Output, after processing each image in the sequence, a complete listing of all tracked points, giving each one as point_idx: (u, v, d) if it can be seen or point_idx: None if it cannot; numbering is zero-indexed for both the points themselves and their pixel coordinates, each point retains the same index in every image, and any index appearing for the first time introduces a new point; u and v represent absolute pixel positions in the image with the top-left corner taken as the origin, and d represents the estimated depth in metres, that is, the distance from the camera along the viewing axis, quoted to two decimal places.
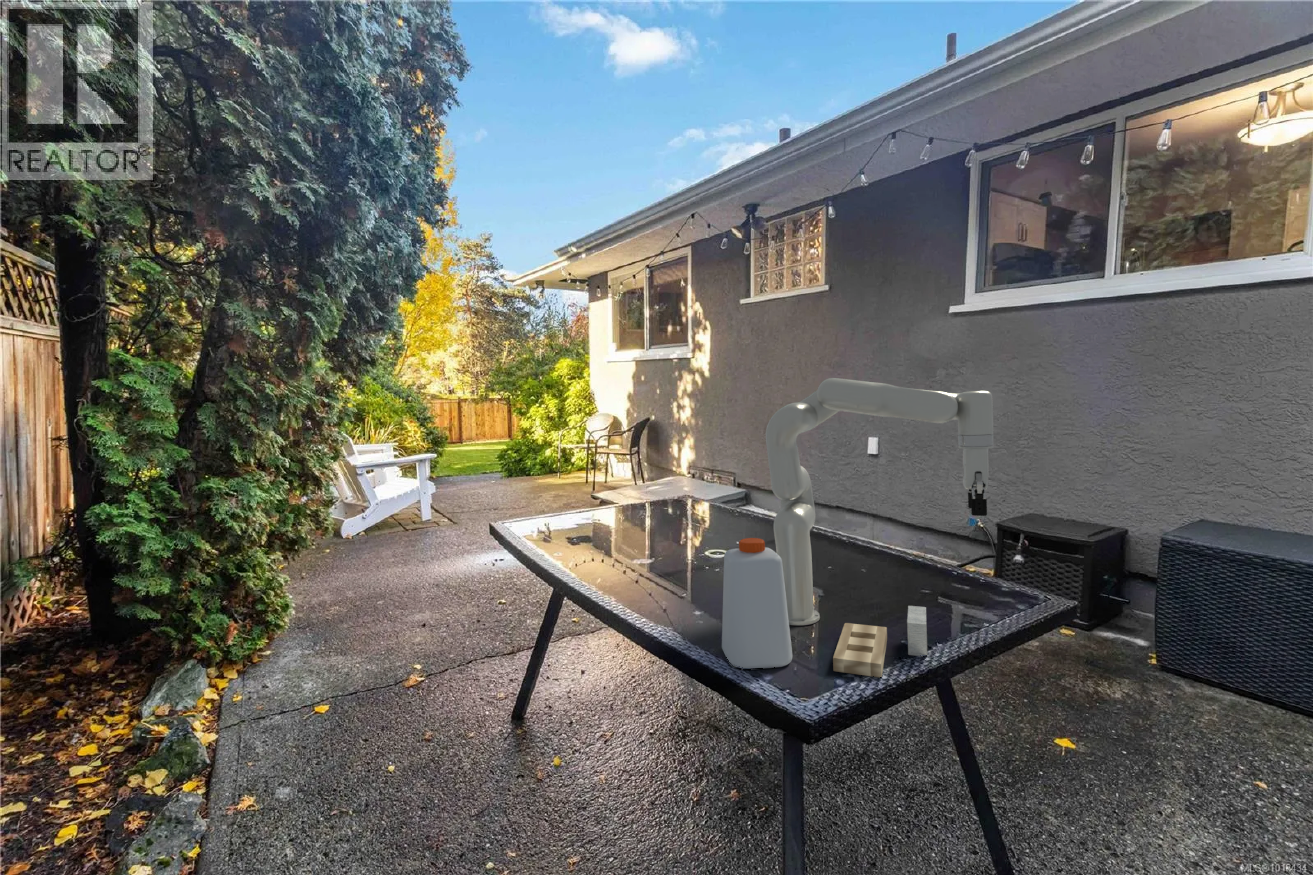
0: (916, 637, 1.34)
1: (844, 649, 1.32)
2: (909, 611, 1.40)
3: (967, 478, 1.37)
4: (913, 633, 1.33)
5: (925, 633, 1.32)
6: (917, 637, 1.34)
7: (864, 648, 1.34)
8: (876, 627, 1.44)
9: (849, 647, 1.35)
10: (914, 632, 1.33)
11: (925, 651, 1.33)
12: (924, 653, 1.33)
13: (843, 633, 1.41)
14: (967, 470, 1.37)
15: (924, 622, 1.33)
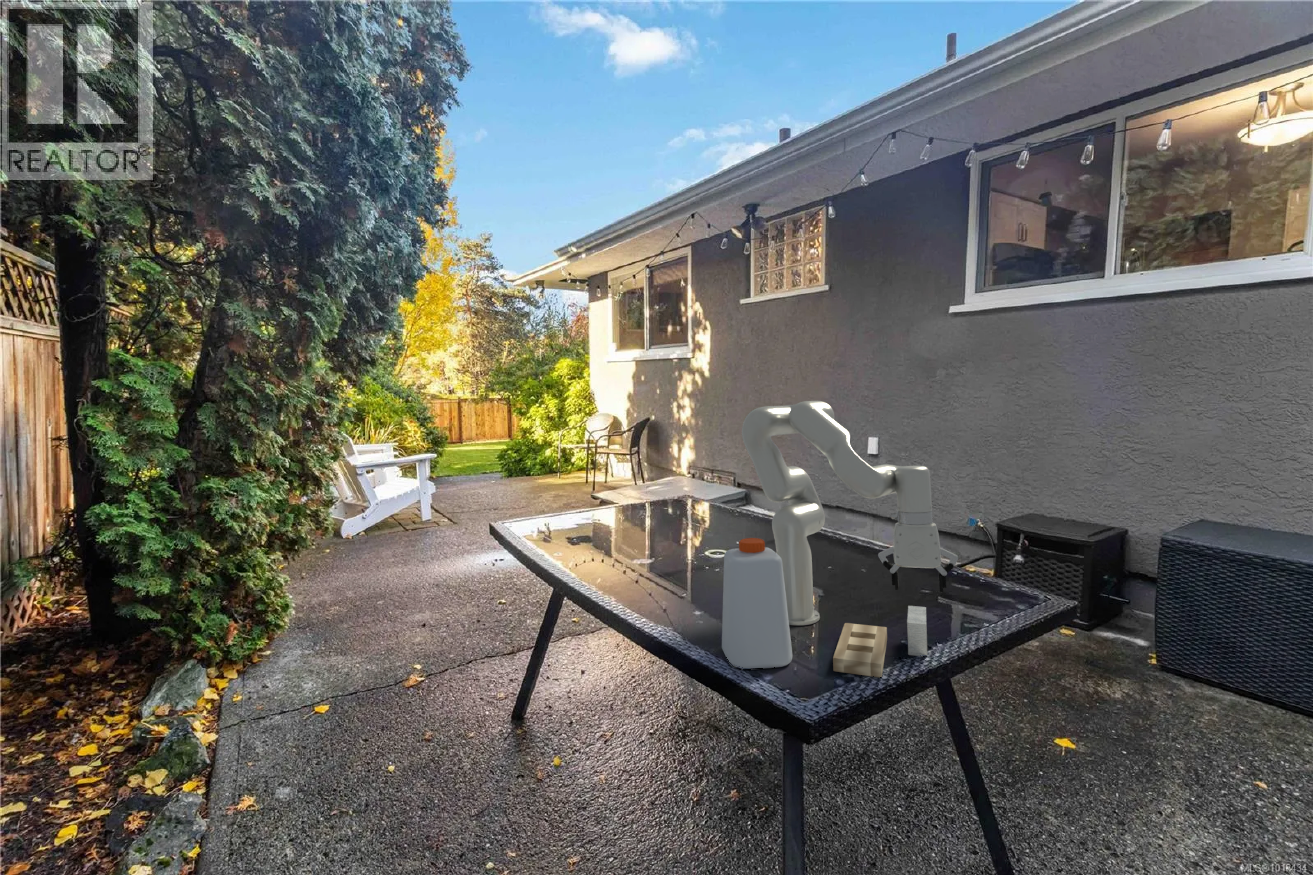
0: (916, 637, 1.34)
1: (844, 649, 1.32)
2: (909, 611, 1.40)
3: (940, 555, 1.33)
4: (913, 633, 1.33)
5: (925, 633, 1.32)
6: (917, 637, 1.34)
7: (864, 648, 1.34)
8: (876, 627, 1.44)
9: (849, 647, 1.35)
10: (914, 632, 1.33)
11: (925, 651, 1.33)
12: (924, 653, 1.33)
13: (843, 633, 1.41)
14: (939, 547, 1.33)
15: (924, 622, 1.33)
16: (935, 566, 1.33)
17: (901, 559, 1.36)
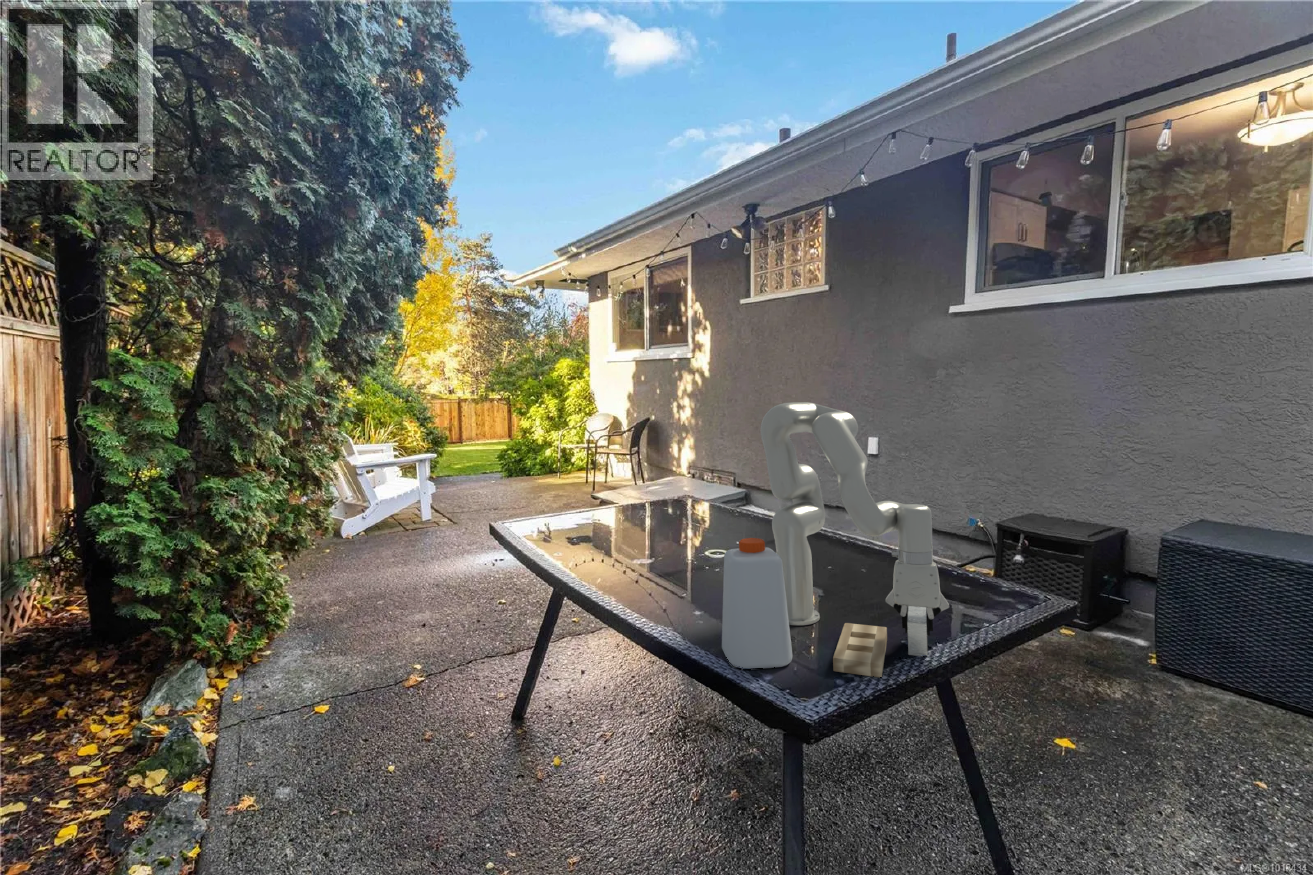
0: (916, 637, 1.34)
1: (844, 649, 1.32)
2: (909, 611, 1.40)
3: (939, 596, 1.34)
4: (913, 633, 1.33)
5: (925, 633, 1.32)
6: (917, 637, 1.34)
7: (864, 648, 1.34)
8: (876, 627, 1.44)
9: (849, 647, 1.35)
10: (914, 632, 1.33)
11: (925, 651, 1.33)
12: (924, 653, 1.33)
13: (843, 633, 1.41)
14: (938, 587, 1.34)
15: (924, 622, 1.33)
16: (934, 606, 1.34)
17: (900, 597, 1.37)
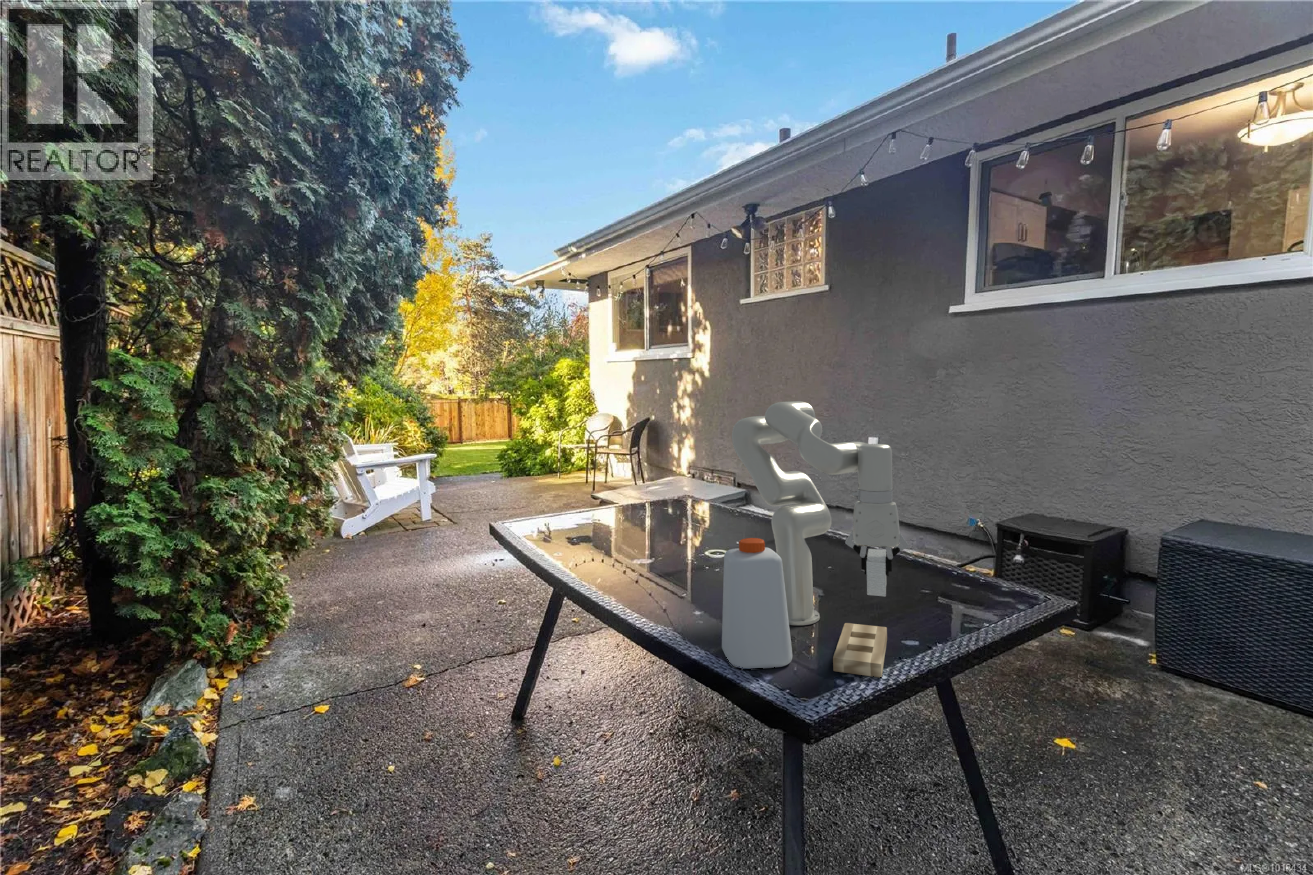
0: (875, 577, 1.32)
1: (844, 649, 1.32)
2: (869, 553, 1.38)
3: (898, 535, 1.32)
4: (872, 572, 1.31)
5: (884, 572, 1.30)
6: (876, 577, 1.32)
7: (864, 648, 1.34)
8: (876, 627, 1.44)
9: (849, 647, 1.35)
10: (873, 571, 1.31)
11: (884, 590, 1.31)
12: (883, 593, 1.31)
13: (843, 633, 1.41)
14: (898, 526, 1.32)
15: (883, 561, 1.31)
16: (893, 545, 1.32)
17: (860, 538, 1.35)
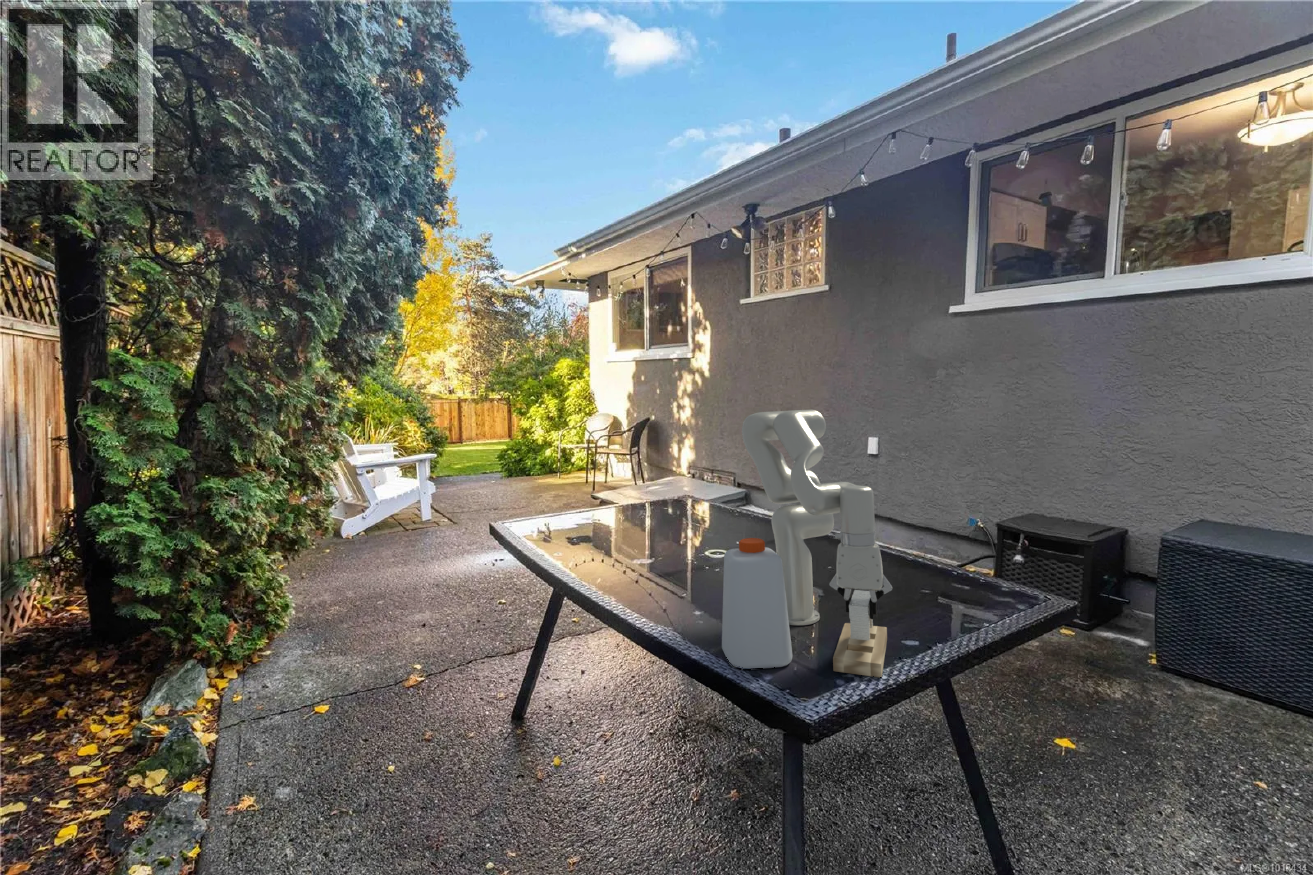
0: (858, 620, 1.31)
1: (844, 649, 1.32)
2: (854, 595, 1.38)
3: (881, 578, 1.31)
4: (855, 616, 1.30)
5: (866, 616, 1.29)
6: (859, 620, 1.31)
7: (864, 648, 1.34)
8: (876, 627, 1.44)
9: (849, 647, 1.35)
10: (855, 615, 1.30)
11: (867, 634, 1.30)
12: (866, 637, 1.30)
13: (843, 633, 1.41)
14: (880, 569, 1.31)
15: (866, 605, 1.30)
16: (876, 588, 1.31)
17: (843, 580, 1.34)
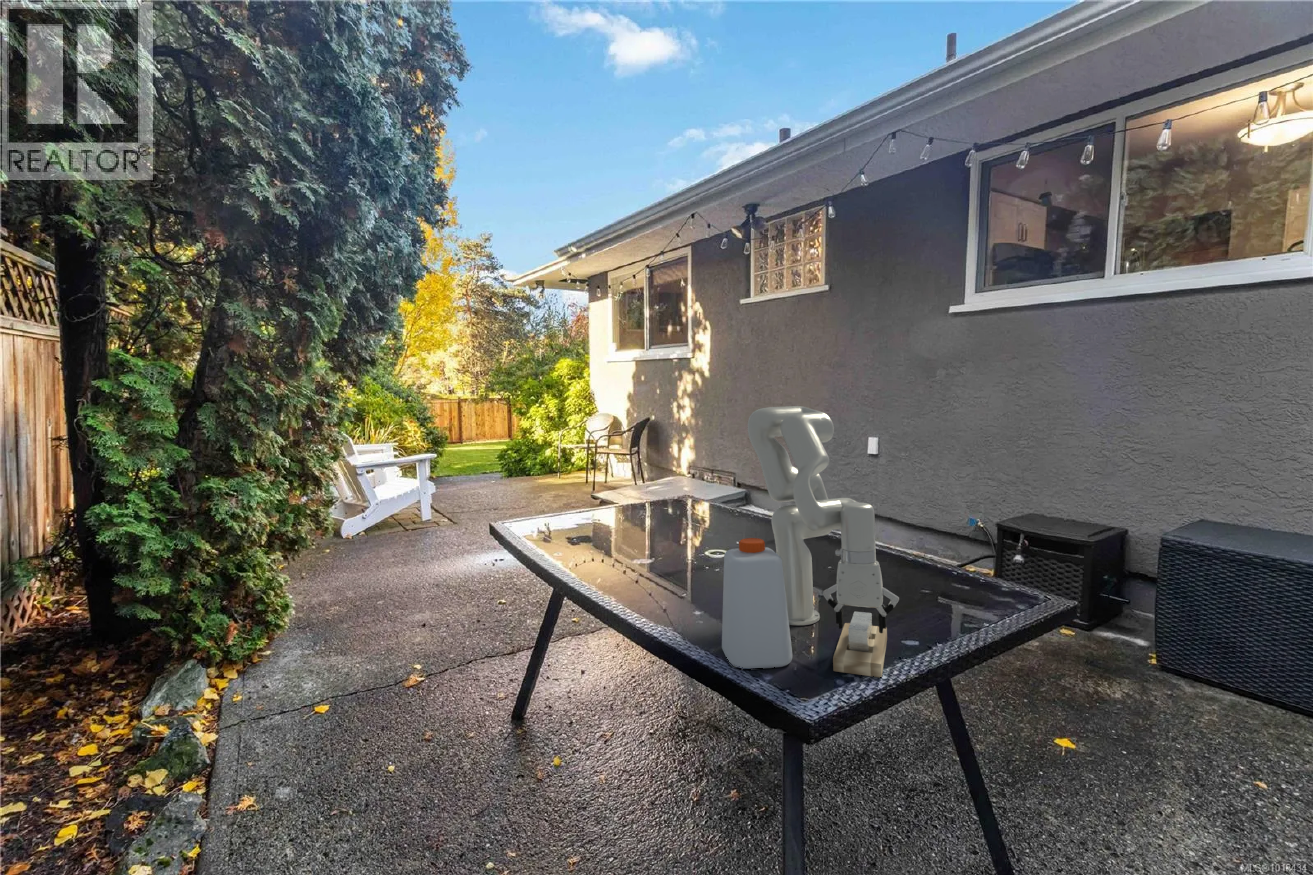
0: (857, 644, 1.32)
1: (844, 649, 1.32)
2: (853, 617, 1.38)
3: (881, 595, 1.31)
4: (854, 640, 1.31)
5: (866, 640, 1.30)
6: (858, 644, 1.32)
7: None
8: (876, 627, 1.44)
9: (849, 647, 1.35)
10: (855, 639, 1.31)
11: None
12: None
13: (843, 633, 1.41)
14: (881, 587, 1.31)
15: (865, 629, 1.31)
16: (876, 606, 1.32)
17: (843, 597, 1.35)
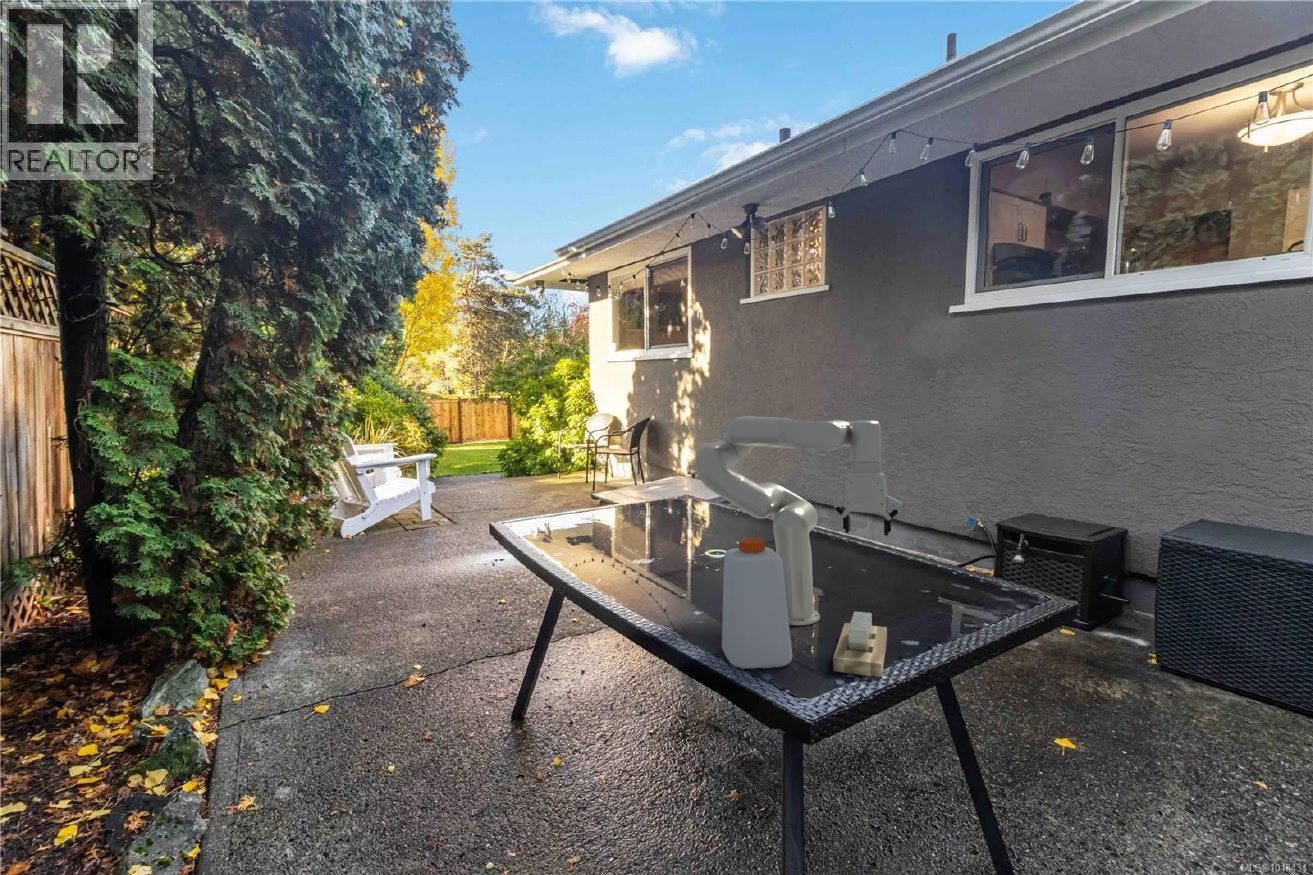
0: (857, 644, 1.32)
1: (844, 649, 1.32)
2: (853, 617, 1.38)
3: (885, 502, 1.46)
4: (854, 640, 1.31)
5: (866, 640, 1.30)
6: (858, 644, 1.32)
7: None
8: (876, 627, 1.44)
9: (849, 647, 1.35)
10: (855, 639, 1.31)
11: None
12: None
13: (843, 633, 1.41)
14: (884, 494, 1.46)
15: (865, 629, 1.31)
16: (880, 511, 1.46)
17: (851, 504, 1.50)
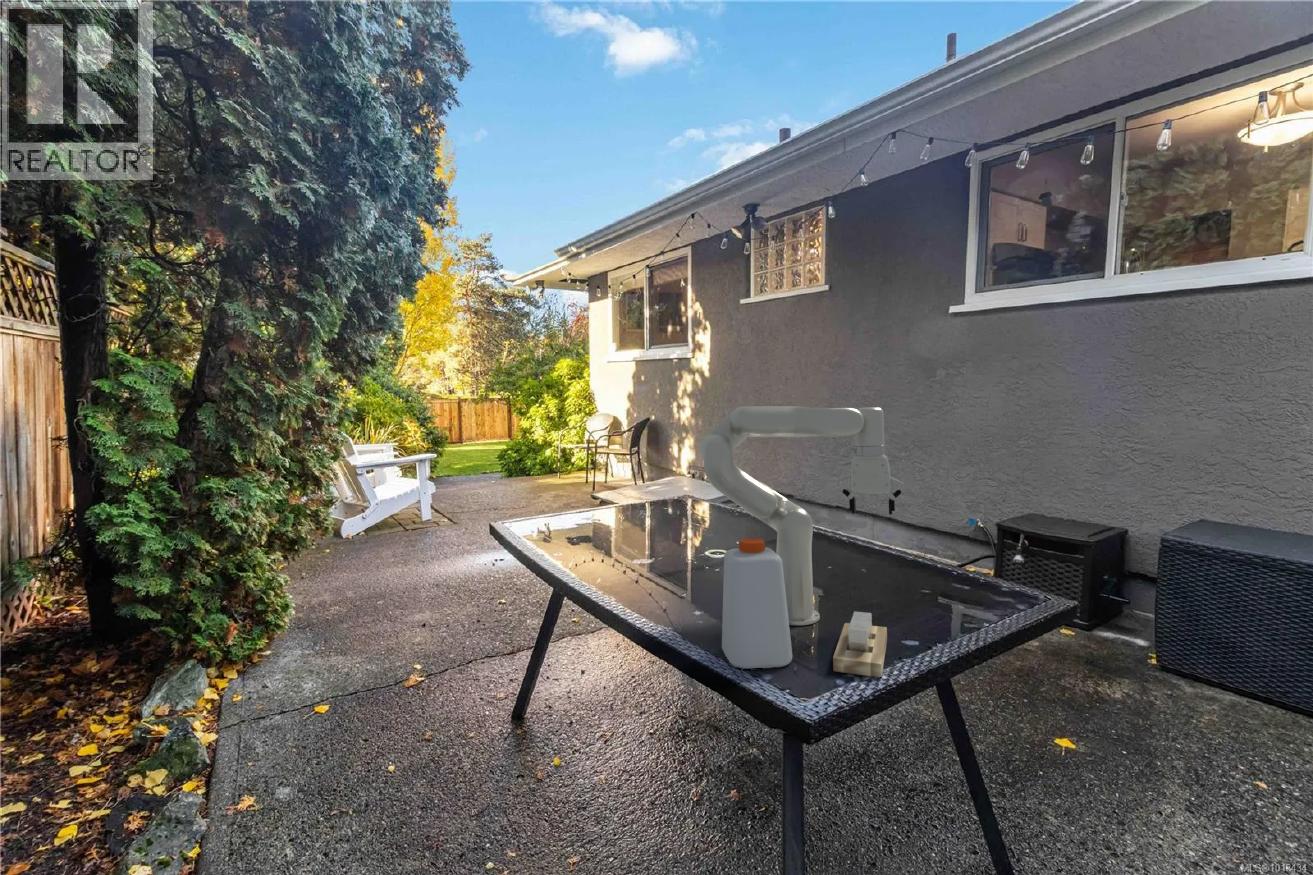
0: (857, 644, 1.32)
1: (844, 649, 1.32)
2: (853, 617, 1.38)
3: (889, 482, 1.56)
4: (854, 640, 1.31)
5: (866, 640, 1.30)
6: (858, 644, 1.32)
7: None
8: (876, 627, 1.44)
9: (849, 647, 1.35)
10: (855, 639, 1.31)
11: None
12: None
13: (843, 633, 1.41)
14: (889, 475, 1.56)
15: (865, 629, 1.31)
16: (885, 491, 1.57)
17: (857, 486, 1.59)
